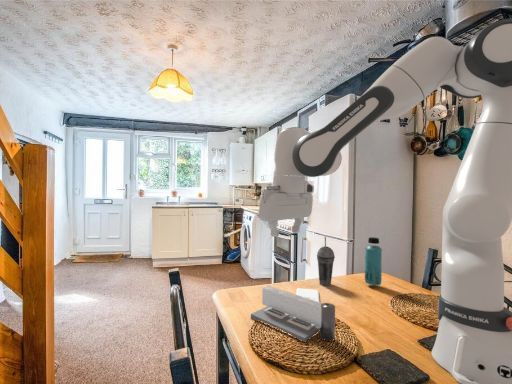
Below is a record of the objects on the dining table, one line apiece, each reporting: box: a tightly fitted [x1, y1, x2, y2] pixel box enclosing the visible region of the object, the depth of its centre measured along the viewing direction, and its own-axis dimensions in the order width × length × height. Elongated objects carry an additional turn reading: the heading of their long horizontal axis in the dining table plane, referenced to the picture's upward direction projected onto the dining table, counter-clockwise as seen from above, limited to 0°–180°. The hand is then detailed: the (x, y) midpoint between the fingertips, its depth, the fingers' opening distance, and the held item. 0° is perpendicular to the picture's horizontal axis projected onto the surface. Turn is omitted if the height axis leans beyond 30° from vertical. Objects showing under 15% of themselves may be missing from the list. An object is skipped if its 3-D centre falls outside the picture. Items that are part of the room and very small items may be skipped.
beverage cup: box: [316, 235, 336, 287], centre depth 114 cm, size 7×7×20 cm
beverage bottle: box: [364, 236, 383, 286], centre depth 112 cm, size 6×7×20 cm
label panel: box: [250, 306, 320, 343], centre depth 81 cm, size 19×16×2 cm
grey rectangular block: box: [261, 285, 336, 341], centre depth 78 cm, size 23×4×8 cm, turn 46°
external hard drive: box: [295, 287, 320, 302], centre depth 99 cm, size 2×8×12 cm
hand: (285, 234), depth 79 cm, fingers open, 8 cm apart
